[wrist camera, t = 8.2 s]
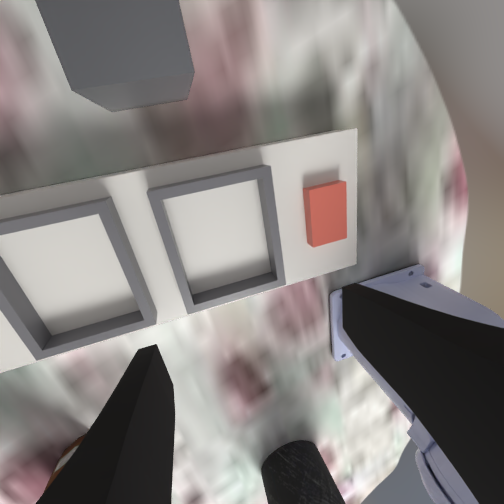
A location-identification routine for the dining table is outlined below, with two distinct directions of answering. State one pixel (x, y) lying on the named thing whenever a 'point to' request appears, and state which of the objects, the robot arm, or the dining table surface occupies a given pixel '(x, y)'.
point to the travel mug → (299, 476)
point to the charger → (121, 50)
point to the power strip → (170, 241)
